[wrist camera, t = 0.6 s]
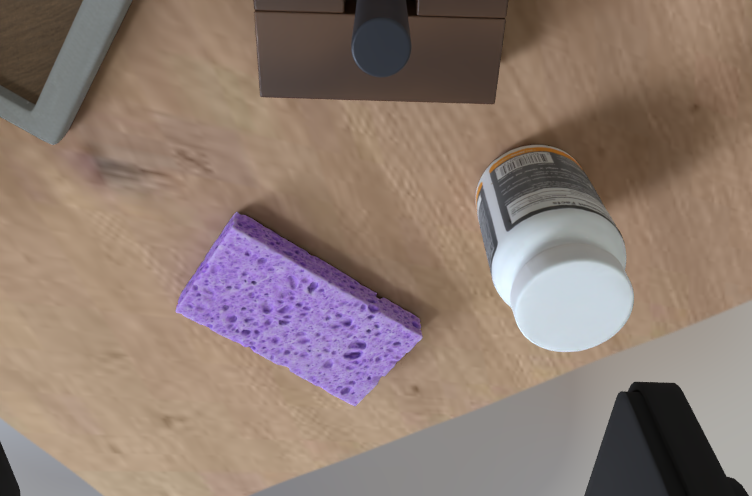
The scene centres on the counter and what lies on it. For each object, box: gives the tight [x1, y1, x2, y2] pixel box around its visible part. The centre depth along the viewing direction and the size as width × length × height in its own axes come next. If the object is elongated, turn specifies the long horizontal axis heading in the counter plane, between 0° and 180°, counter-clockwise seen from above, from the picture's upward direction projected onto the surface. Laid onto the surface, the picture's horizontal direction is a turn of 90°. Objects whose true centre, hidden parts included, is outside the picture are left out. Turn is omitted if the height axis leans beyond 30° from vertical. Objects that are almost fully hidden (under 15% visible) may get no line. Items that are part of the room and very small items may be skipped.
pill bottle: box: [476, 145, 634, 352], centre depth 30 cm, size 6×6×10 cm
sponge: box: [176, 212, 423, 406], centre depth 38 cm, size 7×13×2 cm, turn 54°
